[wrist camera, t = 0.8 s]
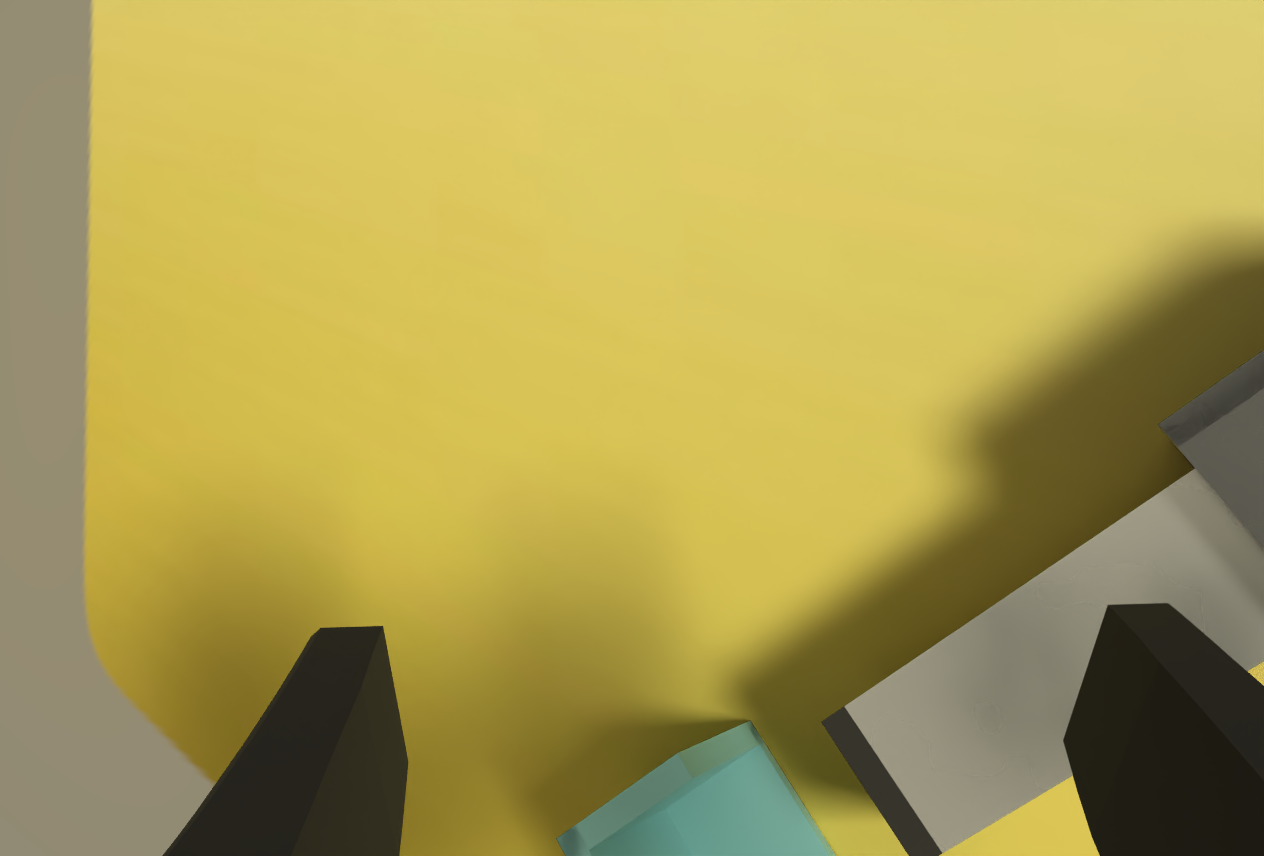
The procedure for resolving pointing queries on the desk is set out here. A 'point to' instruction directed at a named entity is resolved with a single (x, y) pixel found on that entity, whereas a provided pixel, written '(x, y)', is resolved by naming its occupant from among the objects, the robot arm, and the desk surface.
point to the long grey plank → (1041, 668)
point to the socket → (704, 808)
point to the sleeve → (1228, 440)
